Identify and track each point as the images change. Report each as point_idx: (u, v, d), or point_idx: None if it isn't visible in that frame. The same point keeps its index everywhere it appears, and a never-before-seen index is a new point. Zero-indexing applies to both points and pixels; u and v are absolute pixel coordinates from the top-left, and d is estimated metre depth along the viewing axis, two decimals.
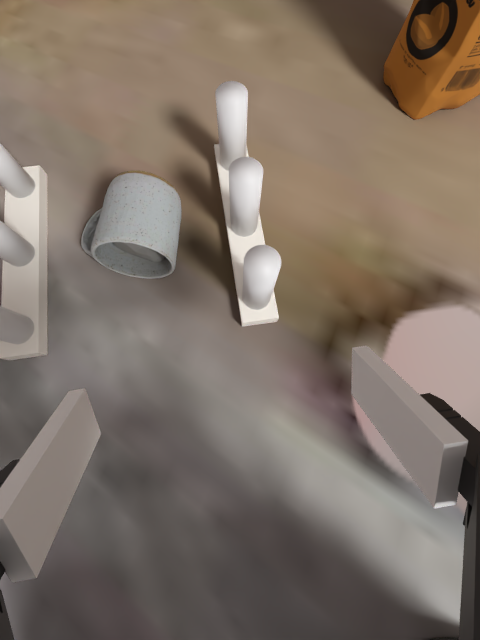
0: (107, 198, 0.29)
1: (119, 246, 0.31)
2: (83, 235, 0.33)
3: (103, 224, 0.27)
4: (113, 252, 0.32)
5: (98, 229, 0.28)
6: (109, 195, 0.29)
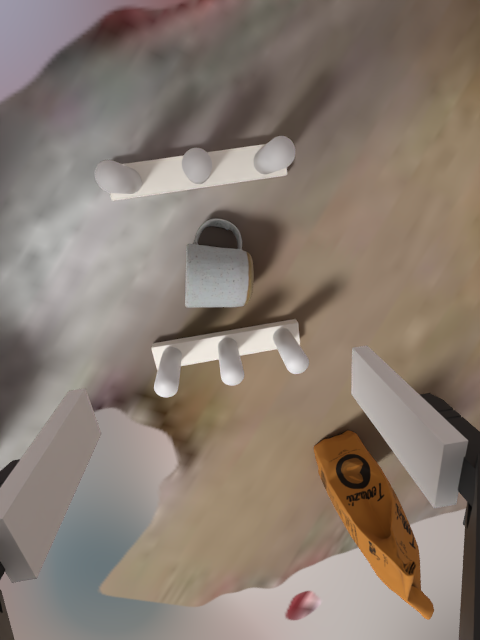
0: (228, 263, 0.37)
1: None
2: (218, 220, 0.40)
3: (202, 266, 0.36)
4: None
5: (200, 260, 0.36)
6: (230, 265, 0.36)
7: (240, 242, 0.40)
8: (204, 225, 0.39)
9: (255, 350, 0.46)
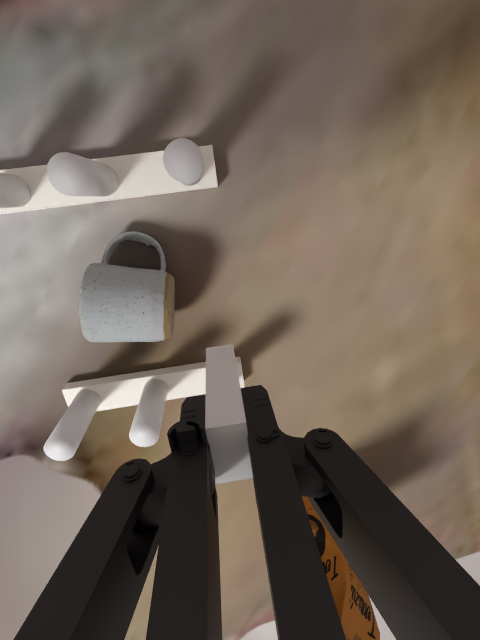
0: (136, 290, 0.29)
1: None
2: (134, 233, 0.32)
3: (101, 294, 0.28)
4: None
5: (98, 286, 0.28)
6: (139, 293, 0.29)
7: (162, 261, 0.32)
8: (115, 240, 0.31)
9: (190, 393, 0.39)
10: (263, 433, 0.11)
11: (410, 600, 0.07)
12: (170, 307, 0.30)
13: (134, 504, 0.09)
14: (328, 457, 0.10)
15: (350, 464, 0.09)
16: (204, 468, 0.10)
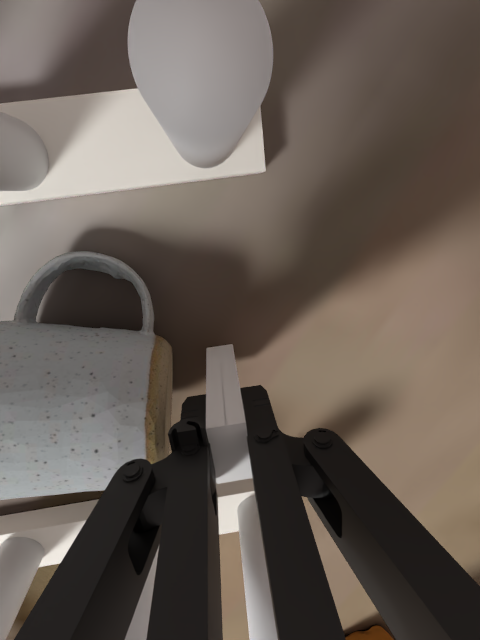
0: (79, 398, 0.12)
1: None
2: (85, 256, 0.15)
3: None
4: None
5: None
6: (85, 404, 0.12)
7: (145, 314, 0.15)
8: (45, 270, 0.15)
9: None
10: (263, 433, 0.11)
11: (410, 600, 0.07)
12: (161, 428, 0.13)
13: (135, 504, 0.09)
14: (328, 457, 0.10)
15: (350, 464, 0.09)
16: (204, 468, 0.10)
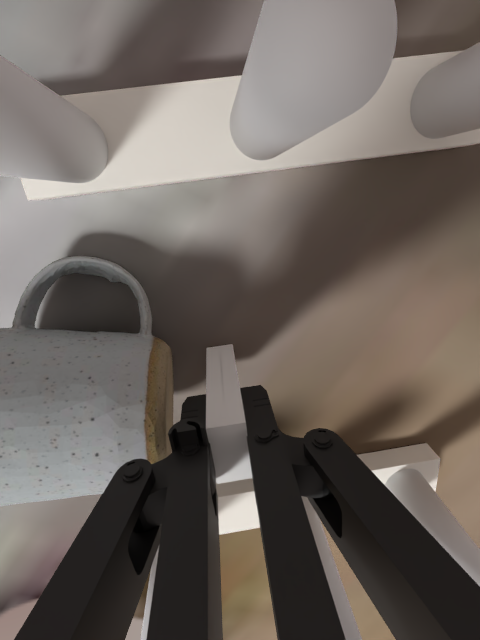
0: (78, 402, 0.12)
1: None
2: (81, 261, 0.15)
3: None
4: None
5: None
6: (84, 408, 0.12)
7: (142, 316, 0.15)
8: (41, 276, 0.15)
9: None
10: (263, 434, 0.11)
11: (409, 600, 0.07)
12: (161, 430, 0.13)
13: (135, 504, 0.09)
14: (328, 457, 0.10)
15: (349, 464, 0.09)
16: (204, 468, 0.10)
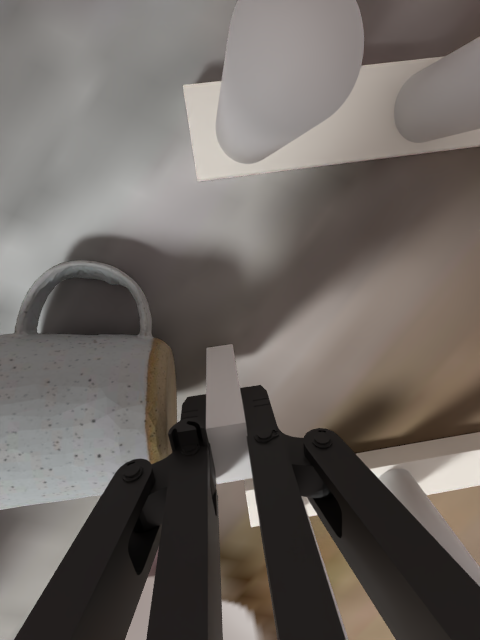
0: (79, 404, 0.12)
1: None
2: (79, 265, 0.15)
3: None
4: None
5: None
6: (85, 410, 0.12)
7: (142, 318, 0.15)
8: (41, 282, 0.15)
9: (443, 487, 0.23)
10: (263, 433, 0.11)
11: (410, 600, 0.07)
12: (162, 430, 0.13)
13: (135, 504, 0.09)
14: (328, 457, 0.10)
15: (349, 464, 0.09)
16: (204, 468, 0.10)
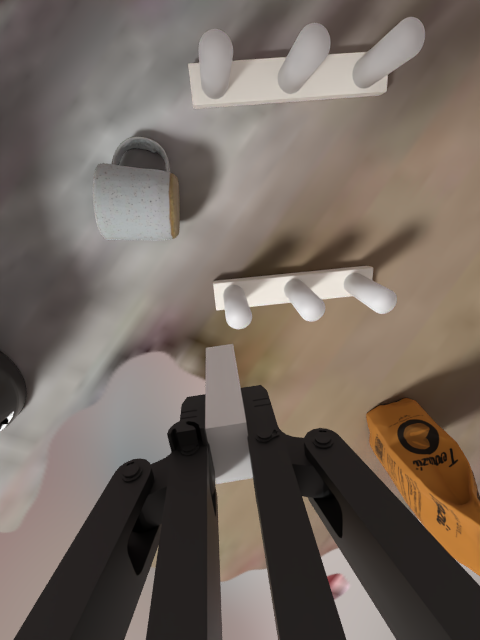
0: (143, 181, 0.31)
1: None
2: (139, 138, 0.34)
3: (112, 183, 0.31)
4: None
5: (109, 177, 0.31)
6: (146, 183, 0.31)
7: (166, 164, 0.35)
8: (123, 144, 0.34)
9: (323, 295, 0.43)
10: (264, 434, 0.11)
11: (410, 600, 0.07)
12: (175, 198, 0.32)
13: (134, 504, 0.09)
14: (328, 457, 0.10)
15: (350, 464, 0.09)
16: (204, 468, 0.10)
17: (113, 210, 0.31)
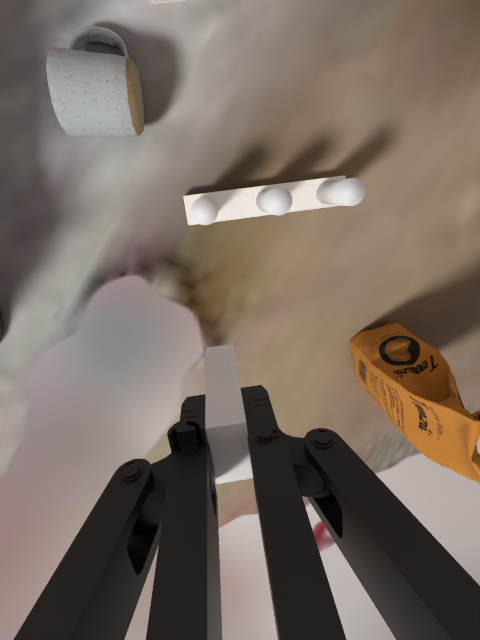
0: (98, 60, 0.31)
1: None
2: (96, 28, 0.34)
3: (66, 61, 0.30)
4: None
5: (63, 55, 0.30)
6: (101, 62, 0.31)
7: (125, 54, 0.34)
8: (80, 33, 0.33)
9: (296, 207, 0.42)
10: (263, 433, 0.11)
11: (410, 600, 0.07)
12: (133, 80, 0.32)
13: (134, 504, 0.09)
14: (328, 457, 0.10)
15: (350, 464, 0.09)
16: (204, 468, 0.10)
17: (69, 90, 0.30)
